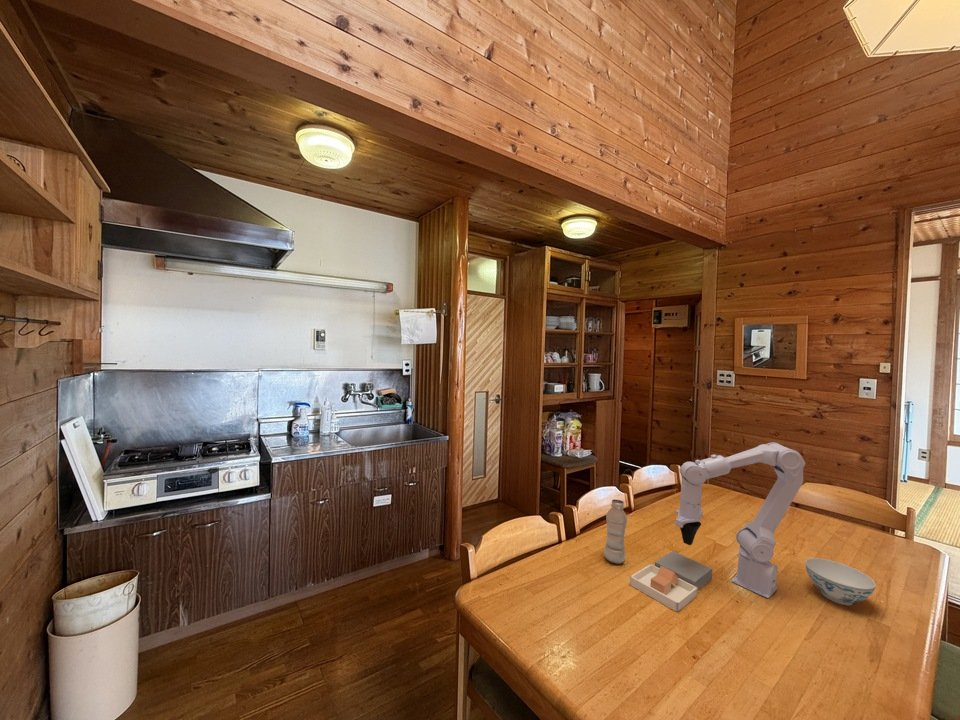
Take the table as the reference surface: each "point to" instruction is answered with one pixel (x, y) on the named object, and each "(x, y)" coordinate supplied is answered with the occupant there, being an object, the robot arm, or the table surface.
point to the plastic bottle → (615, 532)
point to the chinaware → (839, 581)
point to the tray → (673, 599)
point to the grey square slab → (686, 569)
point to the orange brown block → (668, 575)
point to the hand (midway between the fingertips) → (687, 543)
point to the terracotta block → (661, 584)
